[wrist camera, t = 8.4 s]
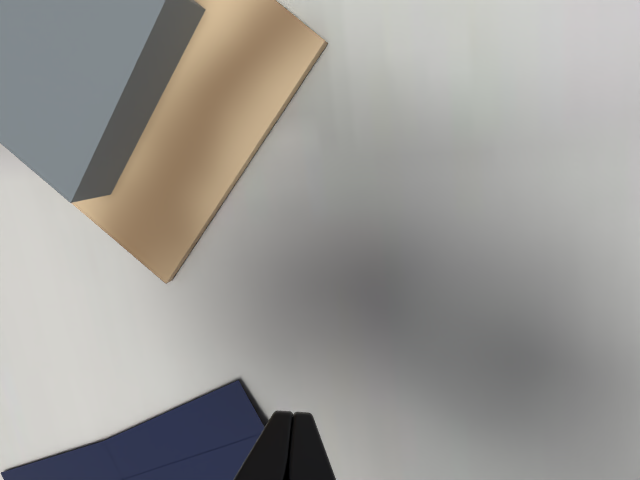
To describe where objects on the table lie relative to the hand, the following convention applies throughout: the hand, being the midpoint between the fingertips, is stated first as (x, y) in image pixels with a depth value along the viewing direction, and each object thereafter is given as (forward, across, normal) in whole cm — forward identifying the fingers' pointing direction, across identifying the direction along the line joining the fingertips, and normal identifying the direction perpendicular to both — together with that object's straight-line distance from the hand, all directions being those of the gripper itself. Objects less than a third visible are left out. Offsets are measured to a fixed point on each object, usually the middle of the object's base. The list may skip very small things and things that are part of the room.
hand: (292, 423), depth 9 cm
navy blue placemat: (+7, +4, +28) cm, 29 cm away
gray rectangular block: (+11, +8, -5) cm, 15 cm away
